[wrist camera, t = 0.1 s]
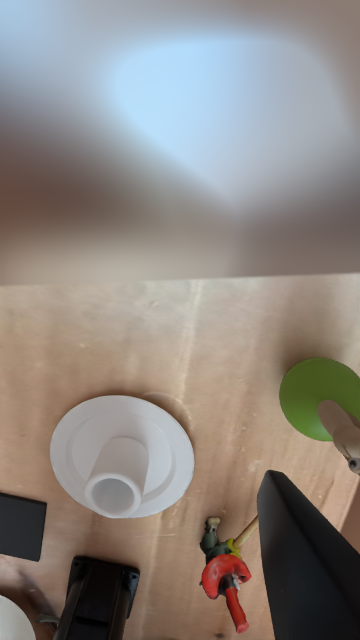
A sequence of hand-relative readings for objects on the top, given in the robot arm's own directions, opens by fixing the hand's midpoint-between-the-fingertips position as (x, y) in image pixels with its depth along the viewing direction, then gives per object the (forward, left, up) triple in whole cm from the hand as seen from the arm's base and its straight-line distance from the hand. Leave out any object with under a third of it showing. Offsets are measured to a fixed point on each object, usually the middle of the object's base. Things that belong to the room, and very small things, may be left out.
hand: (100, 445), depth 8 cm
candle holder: (-13, +1, -15) cm, 20 cm away
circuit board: (-35, +9, -13) cm, 39 cm away
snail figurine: (-2, -12, -15) cm, 19 cm away
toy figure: (-17, -11, -15) cm, 25 cm away
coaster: (-23, +10, -15) cm, 29 cm away
